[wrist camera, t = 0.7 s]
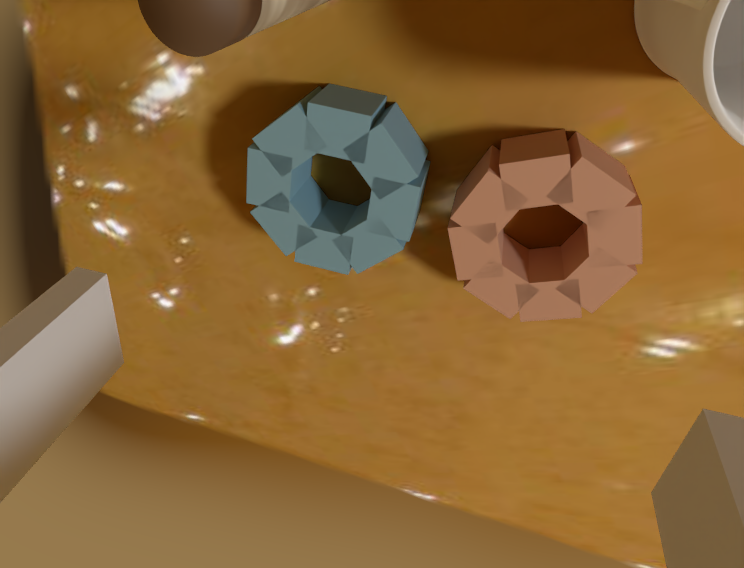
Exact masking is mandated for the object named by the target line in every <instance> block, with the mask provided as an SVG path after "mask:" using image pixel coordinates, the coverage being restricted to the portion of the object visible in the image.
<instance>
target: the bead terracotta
mask: <svg viewBox="0 0 744 568" xmlns="http://www.w3.org/2000/svg"><path fill="white" fill-rule="evenodd" d="M557 204H558V205H560V206H561V207H562V208H564V209H565V210H567V211H568V212H570V213H571V214H573V215H574V216H575V217H577V218H578V219H580V220H581V221H583V224H582V225H581V226H580V227H579V228H578V229H577V230H576V231H575V232H574V233H573V234H572V235H571V236H570V237H569V238H568V239H567V240H566V241H565V242H564V243H563V244H562V245H561V246H555V247H546V248H536V249H527V248H526V247H524V246H523V245H521V244H520V243H518V242H517V241H515V240H514V239H512V238H511V237H510V236H508V235H507V234H505V233H504V231H503V228H504V227H505V225H506V224H507V223H508V222H509V221H510V220H511V219H512V218H513V216H514V215H515V214H516V213H517V212H518V211H519V210H520V209H525V208H533V207H541V206H549V205H557ZM448 233H449V238H450V243H451V248H452V254H453V259H454V264H455V269H456V274H457V279H458V281H459V280H465V281H464V287H463V289H465V290H466V291H468V292H470V293H471V294H473V295H474V296H476V297H477V298H479V299H480V300H482V301H483V302H485V303H486V304H488V305H489V306H491V307H493V308H494V309H496V310H497V311H499V312H500V313H502V314H503V315H505V316H506V317H508V318H509V319H511V318H512V317H513V316H514V315H515V314H516V313H517V312H518V311H519V314H520V321H521V322H523V321H538V320H553V319H568V318H582V315H581V306H582V307H583V308H585V309H586V310H588V311H589V312H591V313H593V312H594V311H595V310H596V309H598V308H599V307H600V306H601V305H602V304H603V303H604V302H606V301H607V300H608V299H609V298H610V297H611V296H612V295H614V294H615V293H616V292H617V291H618V290H619V289H620V288H621V287H623V286H624V285H625V284H626V283H627V282H628V281H629V280H631V279H632V278H633V277H634V276H635V275H636V274H637V269H636V266H635V264H642V204H641V202H640V200H639V197H638V195H637V192H636V190H635V187H634V185H633V182H632V180H631V177H630V175H628V173H627V170H626V168H625V166H624V165H622V164H621V163H620V162H618V161H617V160H615V159H614V158H613V157H611V156H610V155H608V154H607V153H606V152H604V151H603V150H601V149H600V148H599V147H597V146H596V145H594V144H593V143H592V142H590V141H589V140H587V139H586V138H585V137H583V136H582V135H580V134H579V133H578V132H575V133H574V134H573V135H572V136H571V138H570V139H569V140H568V141H567V138H566V133H565V129H561V130H555V131H549V132H543V133H537V134H531V135H525V136H518V137H512V138H506V139H501V150H499V149H497V148H496V147H494V146H493V145H491V147H490V148H489V149H488V151H487V152H486V153H485V154H484V156H483V157H482V158H481V160H480V161H479V162H478V163H477V165H476V166H475V167H474V169H473V170H472V171H471V172H470V174H469V175H468V176H467V178H466V179H465V180H464V181H463V183H462V184H461V185H460V187H459V188H458V189H457V192H456V196H455V200H454V204H453V208H452V212H451V216H450V220H449V225H448Z"/></svg>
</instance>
